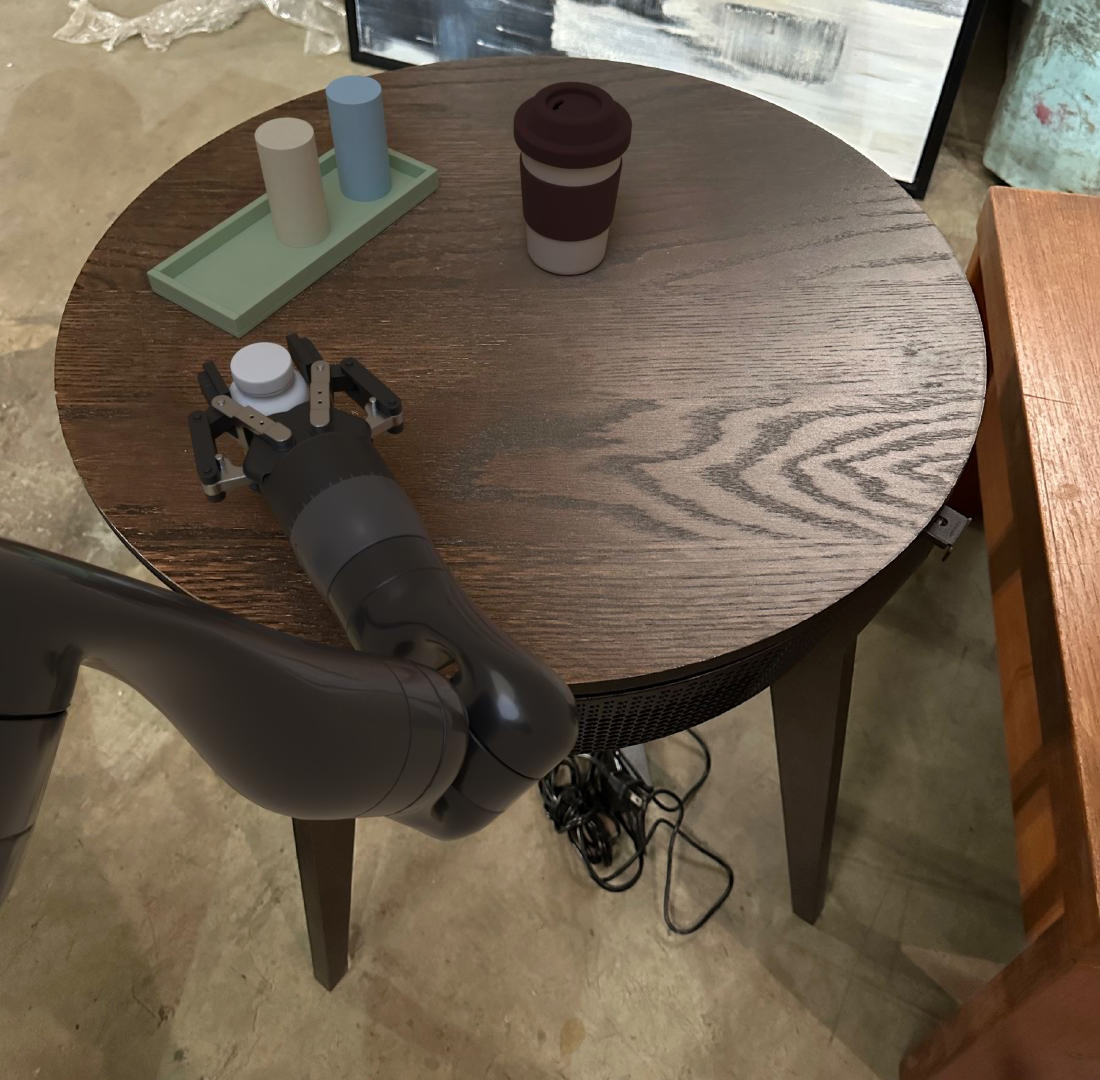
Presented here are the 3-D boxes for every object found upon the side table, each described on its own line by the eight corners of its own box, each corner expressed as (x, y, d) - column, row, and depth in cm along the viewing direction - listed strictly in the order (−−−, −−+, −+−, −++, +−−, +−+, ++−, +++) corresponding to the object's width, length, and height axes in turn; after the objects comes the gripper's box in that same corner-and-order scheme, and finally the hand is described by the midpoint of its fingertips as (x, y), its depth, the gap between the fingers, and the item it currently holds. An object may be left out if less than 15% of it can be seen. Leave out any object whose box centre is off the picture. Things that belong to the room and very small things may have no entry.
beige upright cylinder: (276, 250, 94) (254, 151, 86) (275, 217, 97) (254, 119, 89) (331, 245, 95) (315, 146, 87) (328, 213, 98) (312, 115, 90)
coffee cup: (639, 266, 95) (657, 115, 84) (547, 299, 92) (552, 147, 80) (583, 210, 101) (592, 60, 89) (494, 239, 97) (491, 88, 85)
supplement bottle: (303, 424, 78) (281, 324, 70) (334, 469, 75) (315, 370, 68) (236, 451, 76) (206, 351, 68) (266, 499, 73) (238, 400, 66)
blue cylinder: (341, 203, 99) (327, 105, 91) (338, 174, 102) (324, 76, 94) (394, 199, 100) (383, 101, 92) (389, 170, 103) (378, 73, 95)
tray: (239, 339, 88) (234, 319, 86) (152, 291, 91) (146, 272, 90) (439, 188, 102) (438, 169, 100) (357, 151, 106) (355, 133, 104)
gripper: (455, 440, 61) (340, 281, 70) (223, 532, 57) (131, 349, 65) (460, 519, 67) (353, 363, 76) (250, 608, 63) (162, 431, 71)
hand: (251, 357), depth 71 cm, fingers closed on supplement bottle, 5 cm apart
